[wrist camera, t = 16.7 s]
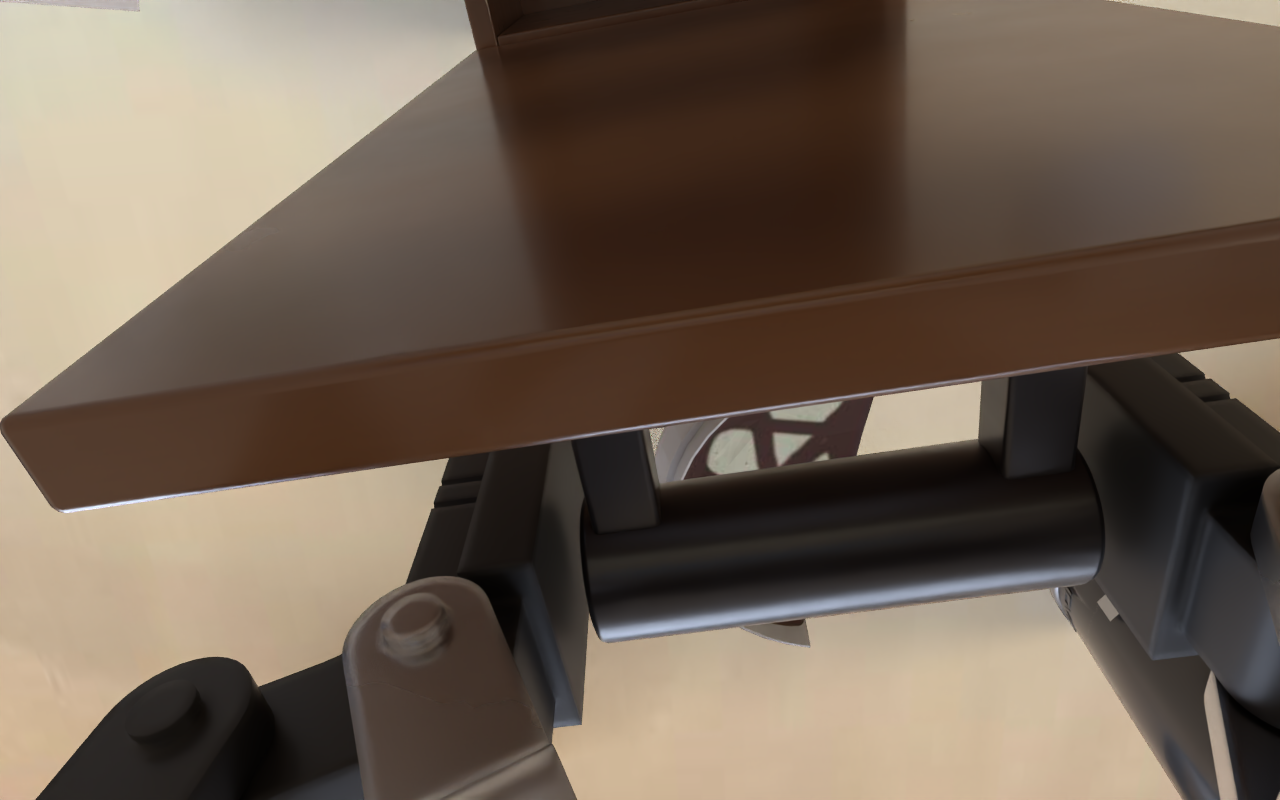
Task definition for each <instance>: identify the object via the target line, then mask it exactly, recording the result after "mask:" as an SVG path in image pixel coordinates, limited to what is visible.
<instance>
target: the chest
mask: <svg viewBox="0 0 1280 800" xmlns="http://www.w3.org/2000/svg"><path fill="white" fill-rule="evenodd" d="M464 1H465V5H466V9H467V13H468V17H469V21H470V25H471V29H472V33H473V37H474V41H475V45H476V49H477V50H481V49H486V48H492V47H497V46H503V45H508V44H513V43H519V42H524V41H530V40H535V39H541V38H546V37H552V36H557V35H562V34H568V33H573V32H579V31H584V30H590V29H595V28H600V27H606V26H611V25H617V24H622V23H628V22H633V21H639V20H644V19H649V18H655V17H660V16H666V15H671V14H677V13H682V12H687V11H693V10H698V9H704V8H709V7H715V6H720V5H725V4H731V3H736V2H742V1H747V0H464Z"/></svg>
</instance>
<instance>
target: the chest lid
mask: <svg viewBox="0 0 1280 800" xmlns="http://www.w3.org/2000/svg"><path fill="white" fill-rule="evenodd" d="M1277 338H1280V27H1278V26H1271V25H1265V24H1258V23H1252V22H1245V21H1239V20H1232V19H1226V18H1219V17H1212V16H1206V15H1199V14H1193V13H1186V12H1180V11H1173V10H1167V9H1160V8H1154V7H1147V6H1140V5H1134V4H1127V3H1121V2H1114V1H1108V0H747V1H742V2H736V3H731V4H725V5H720V6H715V7H709V8H704V9H698V10H693V11H687V12H682V13H677V14H671V15H666V16H660V17H655V18H649V19H644V20H639V21H633V22H628V23H622V24H617V25H611V26H606V27H600V28H595V29H590V30H584V31H579V32H573V33H568V34H562V35H557V36H552V37H546V38H541V39H535V40H530V41H524V42H519V43H513V44H508V45H503V46H497V47H492V48H486V49H481V50H476V51H474V52H473V53H472V54H470V55H469V56H468V57H467V58H465V59H464V60H463V61H461V62H460V63H459V64H458V65H456V66H455V67H454V68H452V69H451V70H450V71H449V72H447V73H446V74H445V75H443V76H442V77H441V78H440V79H438V80H437V81H436V82H434V83H433V84H432V85H431V86H429V87H428V88H427V89H425V90H424V91H423V92H422V93H420V94H419V95H418V96H416V97H415V98H414V99H413V100H411V101H410V102H409V103H407V104H406V105H405V106H404V107H402V108H401V109H400V110H398V111H397V112H396V113H395V114H393V115H392V116H391V117H389V118H388V119H387V120H386V121H384V122H383V123H382V124H380V125H379V126H378V127H377V128H375V129H374V130H373V131H371V132H370V133H369V134H368V135H366V136H365V137H364V138H362V139H361V140H360V141H359V142H357V143H356V144H355V145H353V146H352V147H351V148H350V149H348V150H347V151H346V152H344V153H343V154H342V155H341V156H339V157H338V158H337V159H335V160H334V161H333V162H332V163H330V164H329V165H328V166H326V167H325V168H324V169H323V170H321V171H320V172H319V173H317V174H316V175H315V176H314V177H312V178H311V179H310V180H308V181H307V182H306V183H305V184H303V185H302V186H301V187H299V188H298V189H297V190H296V191H294V192H293V193H292V194H290V195H289V196H288V197H287V198H285V199H284V200H283V201H281V202H280V203H279V204H278V205H276V206H275V207H274V208H272V209H271V210H270V211H269V212H267V213H266V214H265V215H263V216H262V217H261V218H260V219H258V220H257V221H256V222H254V223H253V224H252V225H251V226H249V227H248V228H247V229H245V230H244V231H243V232H242V233H240V234H239V235H238V236H236V237H235V238H234V239H233V240H231V241H230V242H229V243H227V244H226V245H225V246H224V247H222V248H221V249H220V250H218V251H217V252H216V253H215V254H213V255H212V256H211V257H209V258H208V259H207V260H206V261H204V262H203V263H202V264H200V265H199V266H198V267H197V268H195V269H194V270H193V271H191V272H190V273H189V274H188V275H186V276H185V277H184V278H183V279H181V280H180V281H179V282H177V283H176V284H175V285H174V286H172V287H171V288H170V289H168V290H167V291H166V292H165V293H163V294H162V295H161V296H159V297H158V298H157V299H156V300H154V301H153V302H152V303H150V304H149V305H148V306H147V307H145V308H144V309H143V310H141V311H140V312H139V313H138V314H136V315H135V316H134V317H132V318H131V319H130V320H129V321H127V322H126V323H125V324H123V325H122V326H121V327H120V328H118V329H117V330H116V331H114V332H113V333H112V334H111V335H109V336H108V337H107V338H105V339H104V340H103V341H102V342H100V343H99V344H98V345H96V346H95V347H94V348H93V349H91V350H90V351H89V352H87V353H86V354H85V355H84V356H82V357H81V358H80V359H78V360H77V361H76V362H75V363H73V364H72V365H71V366H69V367H68V368H67V369H66V370H64V371H63V372H62V373H60V374H59V375H58V376H57V377H55V378H54V379H53V380H51V381H50V382H49V383H48V384H46V385H45V386H44V387H42V388H41V389H40V390H39V391H37V392H36V393H35V394H33V395H32V396H31V397H30V398H28V399H27V400H26V401H24V402H23V403H22V404H21V405H19V406H18V407H17V408H15V409H14V410H13V411H12V412H10V413H9V414H8V415H6V416H5V417H4V418H3V419H2V420H1V422H0V430H1V434H2V435H3V437H4V438H5V440H6V441H7V443H8V444H9V446H10V447H11V448H12V450H13V451H14V453H15V454H16V456H17V457H18V459H19V460H20V462H21V463H22V465H23V466H24V468H25V469H26V470H27V472H28V473H29V475H30V476H31V478H32V479H33V481H34V482H35V484H36V485H37V487H38V488H39V490H40V491H41V492H42V494H43V495H44V497H45V498H46V500H47V501H48V503H49V504H50V506H51V507H53V508H54V509H55V510H57V511H58V512H63V513H69V512H76V511H83V510H90V509H97V508H104V507H111V506H118V505H125V504H132V503H139V502H146V501H153V500H160V499H166V498H173V497H180V496H187V495H194V494H201V493H208V492H215V491H222V490H229V489H236V488H243V487H250V486H257V485H264V484H271V483H278V482H284V481H291V480H298V479H305V478H312V477H319V476H326V475H333V474H340V473H347V472H354V471H361V470H368V469H375V468H382V467H389V466H396V465H403V464H409V463H416V462H423V461H430V460H437V459H444V458H451V457H458V456H465V455H472V454H479V453H486V452H493V451H500V450H507V449H514V448H521V447H527V446H534V445H541V444H548V443H555V442H562V441H569V440H570V441H571V445H572V449H573V453H574V457H575V461H576V465H577V469H578V473H579V477H580V481H581V485H582V489H583V493H584V499H583V502H582V507H581V512H580V553H581V565H582V574H583V581H584V588H585V594H586V599H587V604H588V609H589V613H590V617H591V620H592V623H593V626H594V629H595V631H596V633H597V635H598V637H599V639H600V640H601V641H603V642H606V643H614V642H622V641H630V640H638V639H646V638H654V637H662V636H671V635H679V634H687V633H695V632H703V631H711V630H719V629H727V628H735V627H743V626H751V625H760V624H768V623H776V622H784V621H792V620H800V619H808V618H816V617H824V616H832V615H840V614H848V613H857V612H865V611H873V610H881V609H889V608H897V607H905V606H913V605H921V604H929V603H937V602H945V601H954V600H962V599H970V598H978V597H986V596H994V595H1002V594H1010V593H1018V592H1026V591H1034V590H1043V589H1051V588H1059V587H1067V586H1075V585H1082V584H1085V583H1087V582H1089V581H1090V580H1092V579H1094V578H1095V577H1096V576H1097V574H1098V573H1099V571H1100V569H1101V566H1102V563H1103V559H1104V553H1105V524H1104V516H1103V510H1102V505H1101V501H1100V497H1099V493H1098V490H1097V486H1096V484H1095V481H1094V478H1093V475H1092V473H1091V471H1090V469H1089V466H1088V464H1087V462H1086V461H1085V459H1084V457H1083V455H1082V454H1081V452H1080V451H1079V449H1078V448H1077V445H1078V437H1079V430H1080V423H1081V415H1082V408H1083V400H1084V393H1085V385H1086V378H1087V371H1088V366H1090V365H1097V364H1104V363H1111V362H1118V361H1125V360H1132V359H1139V358H1145V357H1152V356H1159V355H1166V354H1173V353H1180V352H1187V351H1194V350H1201V349H1208V348H1215V347H1222V346H1229V345H1236V344H1243V343H1250V342H1257V341H1263V340H1270V339H1277ZM979 381H982V385H981V402H980V419H979V436H978V439H974V440H967V441H960V442H953V443H945V444H938V445H931V446H924V447H917V448H909V449H902V450H895V451H888V452H880V453H873V454H866V455H859V456H852V457H844V458H837V459H830V460H823V461H816V462H808V463H801V464H794V465H787V466H779V467H772V468H765V469H758V470H751V471H743V472H736V473H729V474H722V475H715V476H707V477H700V478H693V479H686V480H678V481H671V482H664V483H659V479H658V474H657V468H656V463H655V458H654V453H653V447H652V442H651V437H650V432H649V429H652V428H659V427H666V426H673V425H680V424H687V423H694V422H701V421H708V420H715V419H722V418H729V417H736V416H743V415H750V414H757V413H764V412H771V411H777V410H784V409H791V408H798V407H805V406H812V405H819V404H826V403H833V402H840V401H847V400H854V399H861V398H868V397H875V396H882V395H889V394H895V393H902V392H909V391H916V390H923V389H930V388H937V387H944V386H951V385H958V384H965V383H972V382H979Z"/></svg>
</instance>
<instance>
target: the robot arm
mask: <svg viewBox="0 0 1280 800" xmlns="http://www.w3.org/2000/svg"><path fill="white" fill-rule="evenodd" d="M1077 448H1078V449H1079V451H1080V452H1081V454H1082V455H1083V457H1084V459H1085V461H1086V462H1087V464H1088V466H1089V469H1090V471H1091V473H1092V475H1093V478H1094V481H1095V484H1096V486H1097V490H1098V493H1099V497H1100V501H1101V505H1102V510H1103V516H1104V524H1105V553H1104V559H1103V563H1102V566H1101V569H1100V571H1099V573H1098V574H1097V576H1096V577H1095V578H1094V579H1092V580H1090V581H1089V582H1087V583H1085V584H1082V585H1075V586H1067V587H1059V588H1051V589H1050V592H1051V594H1052V597H1053V598H1054V600H1055V602H1056V603H1057V605H1058V607H1059V608H1060V610H1061V611H1062V613H1063V615H1064V616H1065V617H1066V618H1067V620H1069V621H1070V623H1071V625H1072V627H1073V628H1074V630H1075V631H1076V632H1077V633H1078V634H1079V636H1080V637H1081V639H1082V641H1083V642H1084V644H1085V645H1086V647H1087V649H1088V650H1089V652H1090V653H1091V655H1092V656H1093V658H1094V660H1095V662H1096V663H1097V665H1098V666H1099V668H1100V670H1101V671H1102V673H1103V674H1104V676H1105V677H1106V679H1107V681H1108V682H1109V684H1110V685H1111V687H1112V689H1113V690H1114V692H1115V693H1116V695H1117V697H1118V698H1119V700H1120V701H1121V703H1122V704H1123V706H1124V708H1125V709H1126V711H1127V712H1128V714H1129V716H1130V717H1131V719H1132V720H1133V722H1134V723H1135V725H1136V727H1137V728H1138V730H1139V731H1140V733H1141V735H1142V736H1143V738H1144V739H1145V741H1146V742H1147V744H1148V746H1149V747H1150V749H1151V750H1152V752H1153V754H1154V755H1155V757H1156V758H1157V760H1158V761H1159V763H1160V765H1161V766H1162V768H1163V769H1164V771H1165V773H1166V774H1167V776H1168V777H1169V779H1170V781H1171V782H1172V784H1173V785H1174V787H1175V788H1176V790H1177V792H1178V793H1179V795H1180V796H1181V798H1182V800H1280V432H1278V431H1277V430H1276V429H1275V428H1273V427H1272V426H1271V425H1269V424H1268V423H1267V422H1266V421H1264V420H1263V419H1262V418H1260V417H1259V416H1258V415H1257V414H1255V413H1254V412H1253V411H1251V410H1250V409H1249V408H1248V407H1246V406H1245V405H1244V404H1242V403H1241V402H1240V401H1239V400H1237V399H1236V398H1235V399H1230V396H1229V393H1228V392H1227V391H1226V390H1225V389H1223V388H1222V387H1221V386H1219V385H1218V384H1217V383H1216V382H1214V381H1213V380H1212V379H1205V374H1204V373H1203V372H1201V371H1200V370H1199V369H1198V368H1196V367H1195V366H1194V365H1193V364H1191V363H1190V362H1189V361H1187V360H1186V359H1185V358H1184V357H1182V356H1181V355H1180V354H1178V353H1173V354H1166V355H1159V356H1152V357H1145V358H1139V359H1132V360H1125V361H1118V362H1111V363H1104V364H1097V365H1090V366H1088V371H1087V378H1086V385H1085V393H1084V400H1083V408H1082V415H1081V423H1080V430H1079V437H1078V445H1077ZM441 482H442V486H439V489H438V492H437V495H436V498H435V501H434V509H431V512H430V515H429V518H428V521H427V524H426V527H425V530H424V533H423V535H422V538H421V541H420V544H419V547H418V550H417V553H416V556H415V559H414V561H413V564H412V567H411V570H410V573H409V576H408V579H407V582H406V584H405V585H403V586H401V587H399V588H397V589H394V590H393V591H391V592H389V593H388V594H386V595H384V596H383V597H381V598H380V599H378V600H377V601H376V602H374V603H373V604H372V605H371V606H370V607H369V608H367V609H366V610H365V611H364V612H363V613H362V614H361V616H360V617H359V618H358V619H357V620H356V621H355V623H354V624H353V626H352V628H351V629H350V631H349V632H348V635H347V637H346V639H345V642H344V646H343V651H342V654H341V655H339V656H337V657H335V658H333V659H330V660H328V661H326V662H323V663H321V664H318V665H315V666H313V667H310V668H307V669H305V670H302V671H299V672H297V673H294V674H292V675H289V676H286V677H284V678H281V679H278V680H276V681H273V682H270V683H268V684H265V685H262V686H260V687H258V686H257V684H256V683H255V681H254V679H253V678H252V676H251V674H250V673H249V671H248V670H247V669H246V667H245V666H244V665H243V664H241V663H239V662H238V661H236V660H233V659H230V658H224V657H207V658H201V659H196V660H192V661H189V662H186V663H182V664H179V665H177V666H175V667H172V668H170V669H168V670H165V671H164V672H162V673H160V674H158V675H156V676H154V677H152V678H151V679H149V680H148V681H146V682H145V683H143V684H141V685H140V686H138V687H137V688H136V689H135V690H133V691H132V692H131V693H129V694H128V695H127V696H125V697H124V698H123V699H122V700H121V701H120V702H119V703H118V704H117V705H116V706H114V708H113V709H112V710H111V711H110V712H109V713H108V714H107V715H106V716H105V717H104V718H103V720H102V721H101V722H100V723H99V724H98V726H97V727H96V728H95V729H94V730H93V732H92V733H91V734H90V735H89V736H88V738H87V739H86V740H85V741H84V742H83V744H82V745H81V746H80V747H79V748H78V750H77V751H76V752H75V753H74V754H73V755H72V757H71V758H70V759H69V760H68V761H67V763H66V764H65V765H64V766H63V767H62V769H61V770H60V771H59V772H58V773H57V775H56V776H55V777H54V778H53V779H52V781H51V782H50V783H49V784H48V785H47V787H46V788H45V789H44V790H43V791H42V793H41V794H40V795H39V796H38V797H37V798H36V800H577V798H576V796H575V794H574V791H573V789H572V787H571V784H570V782H569V779H568V777H567V775H566V772H565V770H564V768H563V765H562V763H561V761H560V759H559V756H558V754H557V752H556V750H555V748H554V746H553V744H552V734H553V728H556V727H565V726H574V725H582V711H583V696H584V680H585V665H586V649H587V634H588V618H589V609H588V604H587V599H586V594H585V588H584V581H583V574H582V565H581V553H580V512H581V507H582V502H583V499H584V493H583V489H582V485H581V481H580V477H579V473H578V469H577V465H576V461H575V457H574V453H573V449H572V445H571V441H570V440H569V441H562V442H555V443H548V444H541V445H534V446H527V447H521V448H514V449H507V450H500V451H493V452H486V453H479V454H472V455H465V456H458V457H451V458H449V460H448V463H447V466H446V469H445V472H444V475H443V478H442V481H441Z"/></svg>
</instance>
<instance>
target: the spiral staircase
mask: <svg viewBox="0 0 1280 800" xmlns="http://www.w3.org/2000/svg"><path fill="white" fill-rule="evenodd" d="M0 2H14V3H28V4H42V5H56V6H70V7H84V8H99V9H113V10H127V11H140V8H139V0H0Z"/></svg>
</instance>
